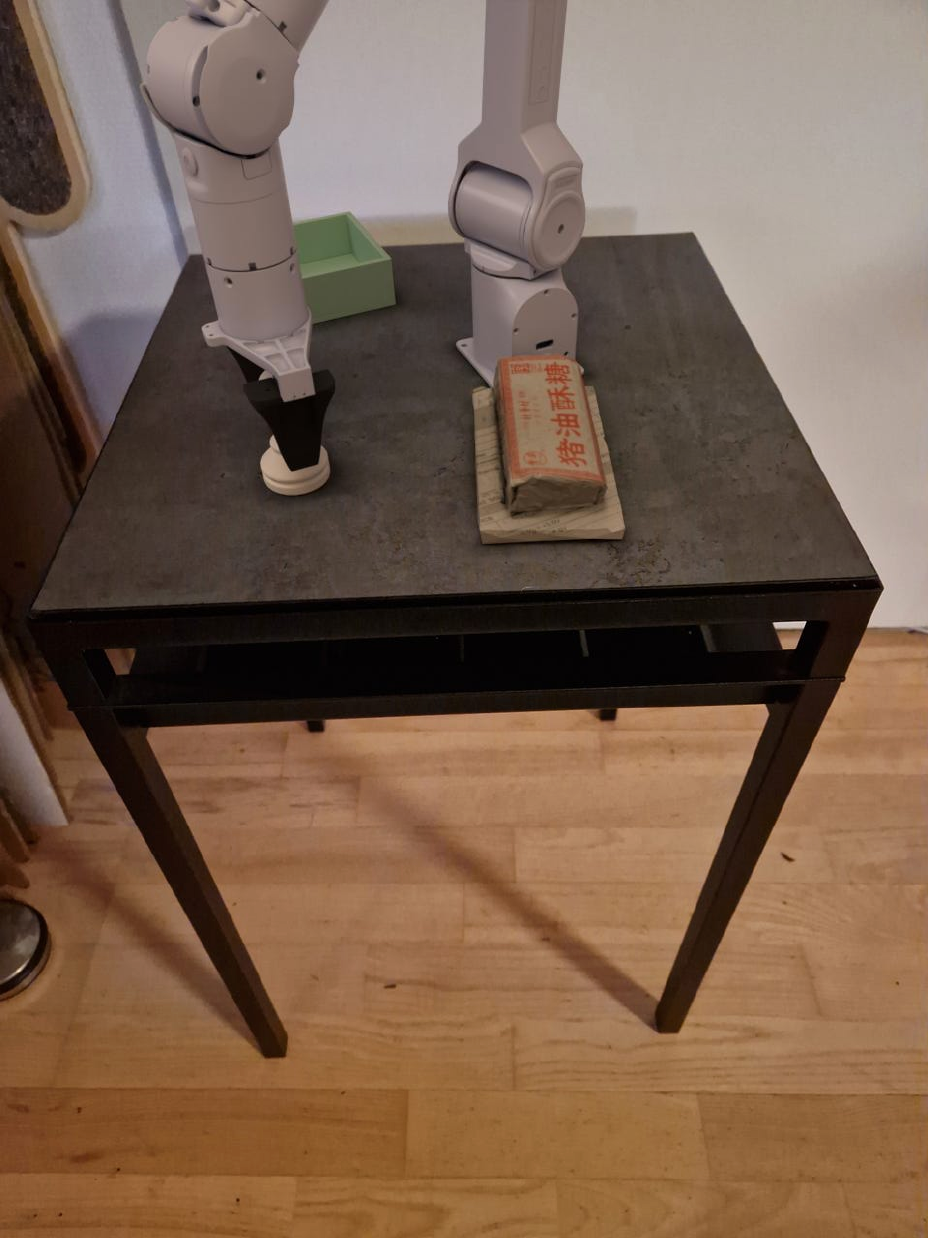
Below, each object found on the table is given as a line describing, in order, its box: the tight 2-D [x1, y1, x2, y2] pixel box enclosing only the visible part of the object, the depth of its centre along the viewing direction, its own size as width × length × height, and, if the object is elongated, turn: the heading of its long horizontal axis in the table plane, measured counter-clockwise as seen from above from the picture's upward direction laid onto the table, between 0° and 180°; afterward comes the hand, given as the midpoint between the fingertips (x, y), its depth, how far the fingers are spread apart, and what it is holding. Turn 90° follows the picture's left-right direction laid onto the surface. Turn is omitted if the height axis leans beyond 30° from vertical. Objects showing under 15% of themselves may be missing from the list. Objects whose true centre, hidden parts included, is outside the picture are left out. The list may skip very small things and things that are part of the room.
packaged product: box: [471, 354, 626, 545], centre depth 65 cm, size 18×5×10 cm
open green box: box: [293, 210, 397, 325], centre depth 86 cm, size 12×12×4 cm
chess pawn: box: [259, 370, 331, 496], centre depth 64 cm, size 5×5×9 cm
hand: (288, 436), depth 65 cm, fingers open, 7 cm apart
